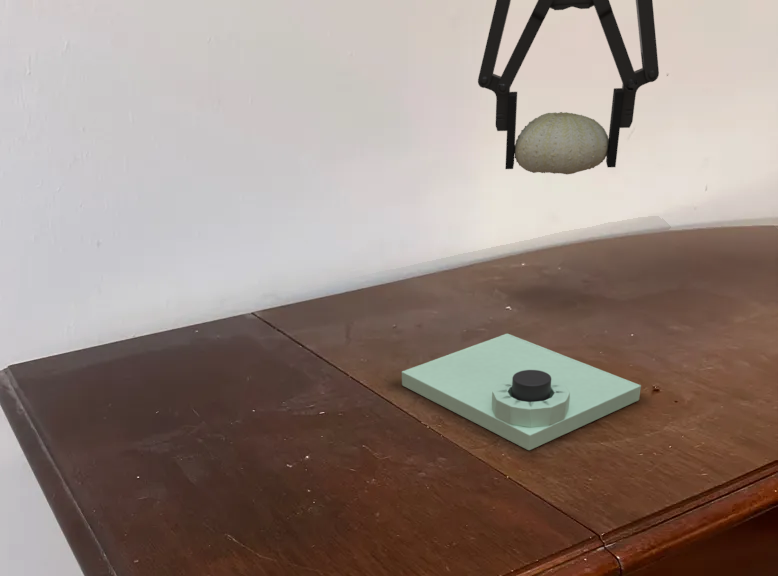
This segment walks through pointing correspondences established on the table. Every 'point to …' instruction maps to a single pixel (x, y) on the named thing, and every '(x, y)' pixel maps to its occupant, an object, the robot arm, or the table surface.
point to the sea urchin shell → (561, 144)
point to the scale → (494, 389)
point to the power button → (531, 386)
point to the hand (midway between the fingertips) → (559, 165)
